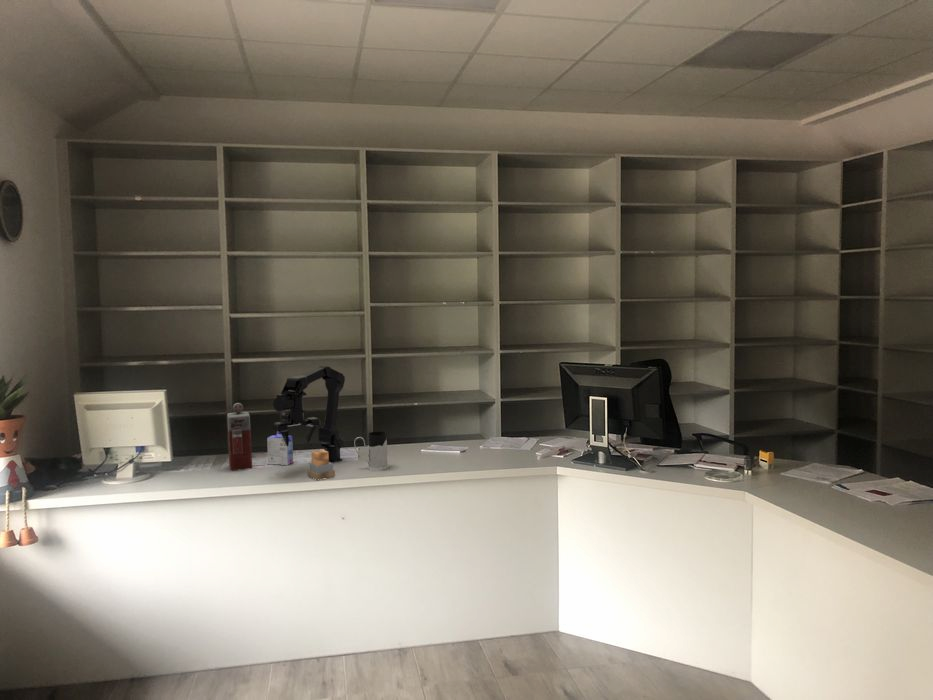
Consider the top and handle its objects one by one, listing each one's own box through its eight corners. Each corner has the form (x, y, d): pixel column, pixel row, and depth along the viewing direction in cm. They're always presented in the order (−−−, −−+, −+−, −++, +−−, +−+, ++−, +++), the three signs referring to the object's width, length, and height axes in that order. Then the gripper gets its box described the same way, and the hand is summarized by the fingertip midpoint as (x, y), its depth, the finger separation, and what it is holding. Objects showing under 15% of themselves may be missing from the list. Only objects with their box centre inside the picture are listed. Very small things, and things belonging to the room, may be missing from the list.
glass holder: (389, 469, 284) (388, 435, 282) (354, 471, 281) (353, 436, 280) (387, 464, 292) (387, 430, 291) (354, 466, 290) (353, 432, 288)
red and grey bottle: (230, 471, 284) (227, 406, 281) (229, 465, 294) (226, 402, 291) (252, 469, 287) (249, 404, 284) (250, 463, 297) (247, 400, 295)
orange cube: (322, 461, 277) (322, 449, 277) (328, 463, 273) (328, 451, 273) (311, 463, 274) (311, 451, 274) (317, 466, 270) (317, 453, 270)
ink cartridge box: (294, 462, 298) (292, 430, 297) (288, 465, 293) (287, 433, 291) (273, 461, 300) (272, 429, 299) (267, 464, 295) (266, 432, 293)
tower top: (324, 467, 279) (324, 460, 279) (333, 470, 274) (332, 463, 274) (309, 470, 275) (309, 463, 275) (317, 473, 270) (317, 466, 269)
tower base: (326, 473, 280) (325, 466, 280) (334, 478, 274) (334, 470, 274) (308, 477, 276) (308, 470, 275) (316, 481, 269) (316, 474, 269)
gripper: (308, 402, 291) (309, 437, 293) (267, 407, 280) (268, 444, 281) (320, 405, 283) (321, 442, 284) (277, 411, 271) (279, 449, 272)
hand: (297, 444), depth 281 cm, fingers open, 9 cm apart
